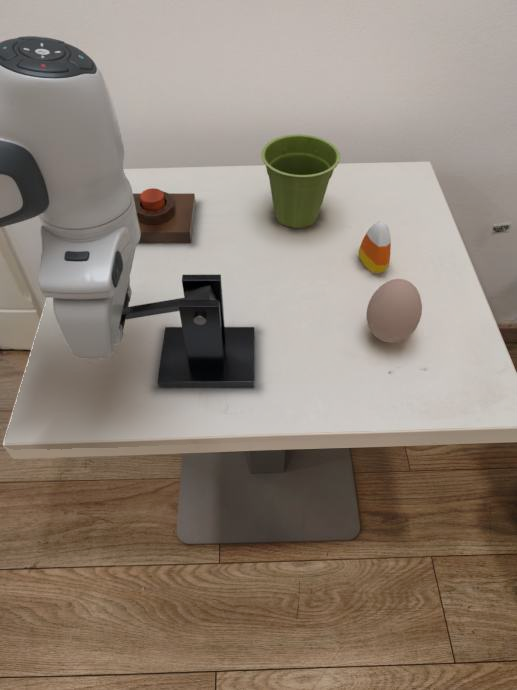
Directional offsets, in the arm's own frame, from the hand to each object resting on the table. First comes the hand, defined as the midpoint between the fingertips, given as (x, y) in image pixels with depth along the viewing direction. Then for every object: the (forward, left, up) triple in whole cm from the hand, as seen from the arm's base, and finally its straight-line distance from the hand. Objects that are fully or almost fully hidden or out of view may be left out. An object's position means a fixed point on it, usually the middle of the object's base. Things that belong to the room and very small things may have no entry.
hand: (119, 318), depth 61 cm
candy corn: (+34, +18, -8) cm, 39 cm away
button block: (0, +28, -8) cm, 29 cm away
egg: (+34, +4, -8) cm, 35 cm away
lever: (+6, 0, +1) cm, 6 cm away
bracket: (+10, 0, -8) cm, 13 cm away
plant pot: (+23, +30, -8) cm, 39 cm away
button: (0, +28, -4) cm, 28 cm away
